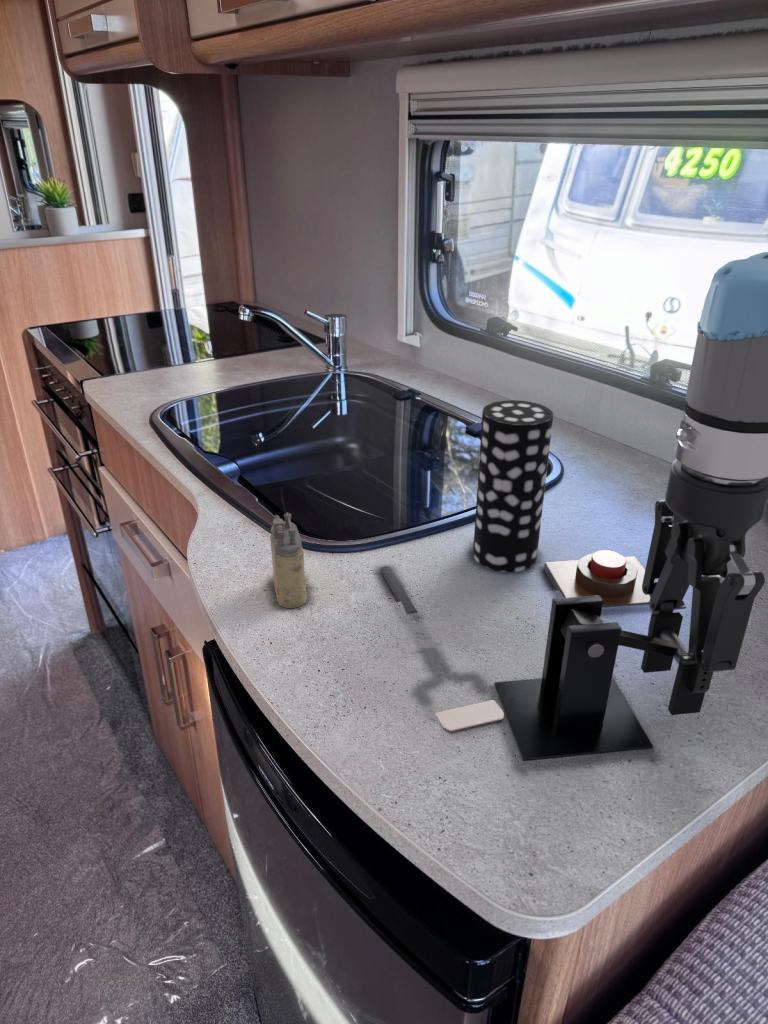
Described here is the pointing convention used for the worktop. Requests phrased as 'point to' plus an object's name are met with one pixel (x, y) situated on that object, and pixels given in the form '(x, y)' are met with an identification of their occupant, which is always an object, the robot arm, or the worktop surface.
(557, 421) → the worktop surface
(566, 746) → the bracket
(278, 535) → the lighter
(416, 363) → the worktop surface
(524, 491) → the white-spotted black cylinder
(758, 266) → the robot arm
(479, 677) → the worktop surface
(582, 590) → the button block
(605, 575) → the button
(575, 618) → the lever
